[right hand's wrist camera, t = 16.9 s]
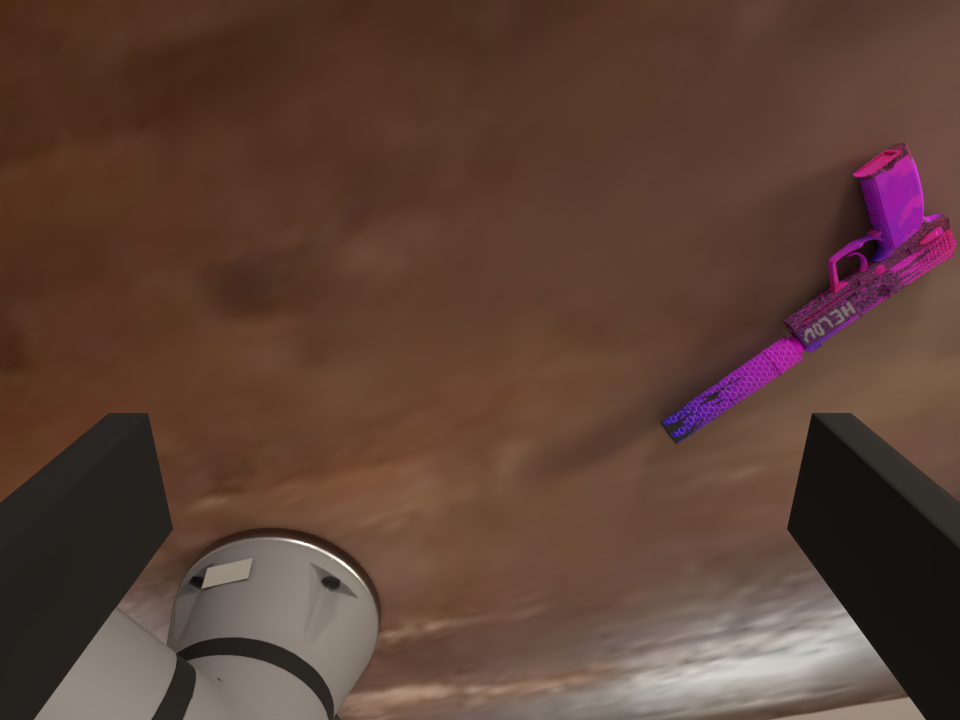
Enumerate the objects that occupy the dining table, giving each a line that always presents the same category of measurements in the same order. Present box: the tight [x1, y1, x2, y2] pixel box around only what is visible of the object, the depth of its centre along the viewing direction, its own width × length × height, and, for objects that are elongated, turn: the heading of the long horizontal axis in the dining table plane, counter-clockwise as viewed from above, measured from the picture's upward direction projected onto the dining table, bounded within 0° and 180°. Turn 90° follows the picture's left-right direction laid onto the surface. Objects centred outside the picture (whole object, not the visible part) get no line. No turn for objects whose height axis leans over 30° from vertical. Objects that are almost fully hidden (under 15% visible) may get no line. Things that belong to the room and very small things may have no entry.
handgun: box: [660, 143, 956, 444], centre depth 39 cm, size 21×8×2 cm, turn 131°
